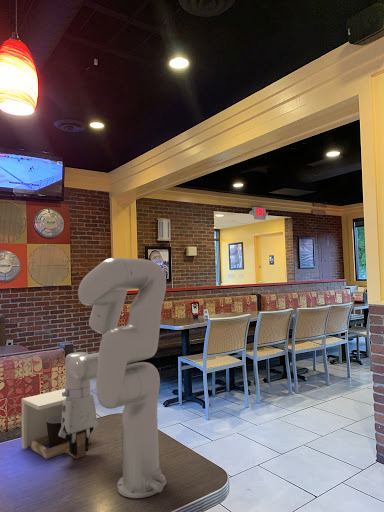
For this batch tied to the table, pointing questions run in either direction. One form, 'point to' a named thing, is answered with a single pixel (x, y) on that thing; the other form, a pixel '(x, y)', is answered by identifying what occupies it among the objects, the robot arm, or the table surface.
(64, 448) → the wooden drawer
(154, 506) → the table surface
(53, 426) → the coffee mug
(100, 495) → the table surface
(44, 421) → the cream open box
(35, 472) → the table surface
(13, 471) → the table surface
